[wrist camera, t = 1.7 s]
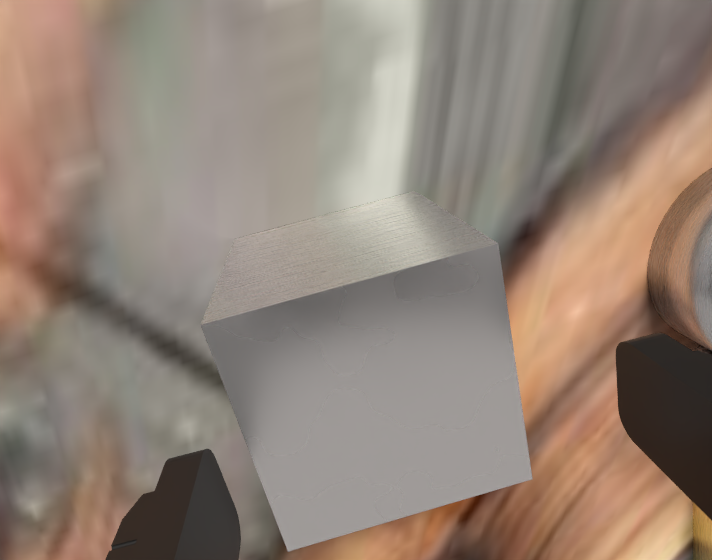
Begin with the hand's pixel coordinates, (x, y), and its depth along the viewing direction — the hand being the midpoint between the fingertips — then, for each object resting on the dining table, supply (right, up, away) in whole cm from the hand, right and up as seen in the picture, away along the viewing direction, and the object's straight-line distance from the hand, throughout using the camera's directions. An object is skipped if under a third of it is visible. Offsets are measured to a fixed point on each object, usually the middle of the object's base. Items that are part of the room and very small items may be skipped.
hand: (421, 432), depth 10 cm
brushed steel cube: (-2, +2, +7) cm, 7 cm away
